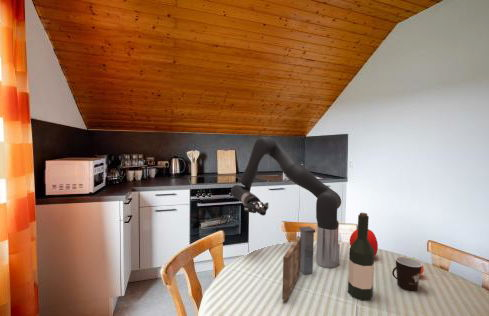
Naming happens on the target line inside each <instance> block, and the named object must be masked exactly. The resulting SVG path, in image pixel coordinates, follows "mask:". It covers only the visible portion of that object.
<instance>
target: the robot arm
mask: <svg viewBox="0 0 489 316" xmlns="http://www.w3.org/2000/svg"><path fill="white" fill-rule="evenodd" d="M252 147H253V148H252V151H251V153H250V156H249V160H248V162H247V163H248V164H247V165H246V168H245V169H244V172H242V173H243V174H242V175H241V177H240V181H239V183H240V184H241V185H239V184H236V185H233V186H232V187H231V189H230V190H231V191H230V192H231V196H232V197H233V198H234V199H236V200H238V201H240V202H241V203H242V204H243V206H244V212H246V213H251V214H256V213H257V214H259V215H260V216H262V217H263V216H266V214H267V210H268V209H269V204H270V203H269V202H262V201H261V200H260V198H259V197H257V196H256V195H255V194H254V193H252V192H251V190H252V189H251V188H252V186H253V183H254V181H255V179H256V177H257V174H258V170H259V165H260V163H261V160H262V159H263V158H264V157H265V156H266V155H268V156H270V157H271V158H272V159H273V160H275V162H277V164H278V165H279V167H280V169H281V171H282V173H283V174H284V175H285V176H286V177H287V178H288V179H289V180H290V181H292V182H293V183H294V184H296V185H297V186H299V187H301V188H303V189H305V190H307V191H308V192H310V193H311V194H312V195H313V196H314V197H316V202H315V203H316V204H315V219H316V222H317V223H316V224H317V225H316V228H317V229H316V255H315V256H316V257H315V259H316V260H315V262H316V264H317V265H318V266H319V267H323V268H329V269H333V268H336V267H337V266H339V265H340V250H341V246H340V245H341V244H340V243H339V225H340V224H339V221H338V209H339V208H340V207H341V206H342V205H341V204H342V199H341V197H340V194H338V192H336V191H334V190H333V189H332V188H330V187H329V186H327V185H326V184H325V183H323V182H322V181H321V180H320V179H319V178H317V177H316V176H315V175H314V174H313V173H312V172H311V171H310V170H308V169H307V168H306V167H305V166H304V165H303V163H301V162H299V161H298V160H297V159H296V158H295V157H293V156H292V155H291V154H290V153H288V152H287V151H286V150H285V149H283V147H282V146H281V145H280V144H279V143H278V142H277V141H276V140H275V139H274V138H272V137H270V136H263V137H262V136H261V137H258V138H257V139H256V140H255V142H254V144H253V146H252Z"/></svg>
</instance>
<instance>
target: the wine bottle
mask: <svg viewBox="0 0 489 316" xmlns="http://www.w3.org/2000/svg"><path fill="white" fill-rule="evenodd" d="M357 216H358V217H357V229H358V235H357V239H356V240H355V242H354V243H353V244H352V246H350V247H349V254H348V255H349V257H348V259H349V260H348V279H347V281H348V282H347V283H348V284H347V293H348V294H349V295H350V297H352V298H353V299H356V300H359V301H368V302H369V301H371V300H372V298H373V297H374V296H373V294H374V276H375V275H374V274H375V272H374V271H375V257H374V256H376V255H375V251H374V249H373V247H372V246H371V244H370V242H369V241H368V229H369V215H368V213H366V212H360V213H359V214H358V215H357Z"/></svg>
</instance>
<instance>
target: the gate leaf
mask: <svg viewBox="0 0 489 316" xmlns="http://www.w3.org/2000/svg"><path fill="white" fill-rule="evenodd" d="M300 260H301V237H300V236H296V237H295V239H294V240H293V242H292V243H291V245H290V246H289V248H288V249H287V251H286V253H284V256H283V260H282V291H281V292H282V293H281V295H282V296H281V297H282V298H281V300H283V301H288V299H289V297H290V295H291V293H292V292H293V291H292V290H293V288H294V287H295V284H296V281H297V280H298V278H299V275H300V273H301V272H300Z"/></svg>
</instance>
